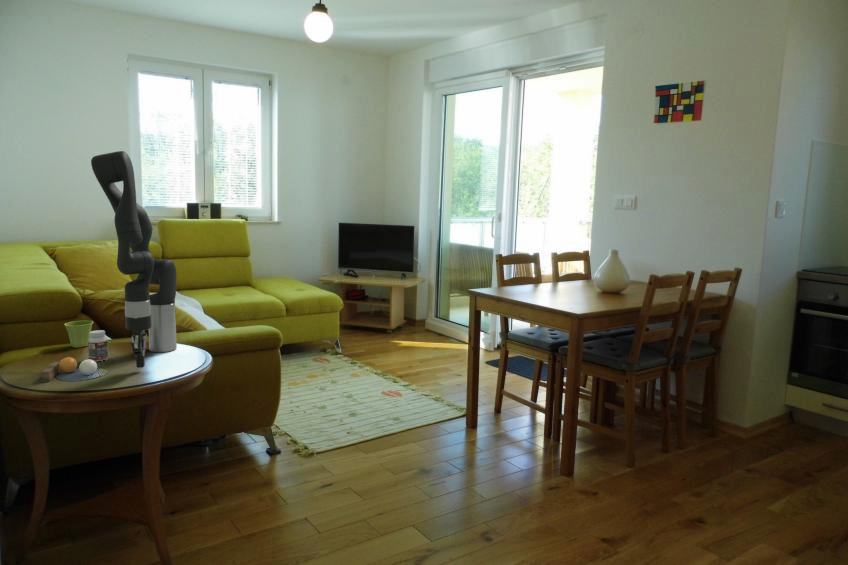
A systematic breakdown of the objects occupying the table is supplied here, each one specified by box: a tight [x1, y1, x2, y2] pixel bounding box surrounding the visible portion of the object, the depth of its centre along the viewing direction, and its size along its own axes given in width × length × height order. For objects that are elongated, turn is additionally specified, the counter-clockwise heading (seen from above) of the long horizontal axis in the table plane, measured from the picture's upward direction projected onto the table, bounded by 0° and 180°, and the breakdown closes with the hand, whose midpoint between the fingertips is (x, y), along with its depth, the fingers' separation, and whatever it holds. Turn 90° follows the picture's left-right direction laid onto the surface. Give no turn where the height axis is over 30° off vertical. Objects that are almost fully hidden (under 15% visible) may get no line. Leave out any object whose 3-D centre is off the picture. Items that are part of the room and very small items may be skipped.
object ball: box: [59, 356, 78, 373], centre depth 195 cm, size 5×5×5 cm
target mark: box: [55, 367, 108, 382], centre depth 194 cm, size 14×14×1 cm
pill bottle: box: [88, 329, 109, 363], centre depth 210 cm, size 6×6×10 cm
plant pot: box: [64, 320, 94, 349], centre depth 228 cm, size 9×9×9 cm
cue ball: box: [78, 358, 98, 375], centre depth 193 cm, size 5×5×5 cm
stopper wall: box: [40, 360, 62, 383], centre depth 192 cm, size 12×2×3 cm, turn 15°
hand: (140, 366), depth 198 cm, fingers closed
